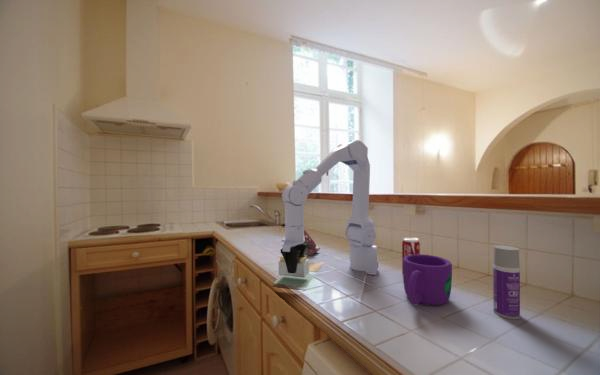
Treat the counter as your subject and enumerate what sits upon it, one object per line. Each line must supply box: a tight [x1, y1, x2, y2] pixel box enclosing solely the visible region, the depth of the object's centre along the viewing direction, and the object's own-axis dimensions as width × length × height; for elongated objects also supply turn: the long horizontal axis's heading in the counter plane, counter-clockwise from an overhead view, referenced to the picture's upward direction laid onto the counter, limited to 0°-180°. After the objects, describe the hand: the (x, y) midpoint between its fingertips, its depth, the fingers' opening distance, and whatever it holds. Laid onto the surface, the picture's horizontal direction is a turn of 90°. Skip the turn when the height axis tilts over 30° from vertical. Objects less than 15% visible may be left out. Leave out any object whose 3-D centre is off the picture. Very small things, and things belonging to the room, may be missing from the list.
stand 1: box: [273, 273, 316, 291], centre depth 78 cm, size 10×10×1 cm
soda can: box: [401, 237, 421, 275], centre depth 82 cm, size 5×5×12 cm
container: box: [492, 244, 521, 320], centre depth 58 cm, size 5×5×15 cm
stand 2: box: [309, 261, 325, 273], centre depth 90 cm, size 10×10×1 cm
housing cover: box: [279, 255, 307, 263], centre depth 78 cm, size 4×7×1 cm, turn 68°
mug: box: [402, 253, 453, 306], centre depth 64 cm, size 17×11×10 cm, turn 138°
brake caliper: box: [304, 229, 321, 257], centre depth 108 cm, size 11×11×12 cm
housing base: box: [278, 258, 310, 278], centre depth 78 cm, size 5×8×4 cm, turn 71°
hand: (294, 269), depth 78 cm, fingers closed on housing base, 5 cm apart
